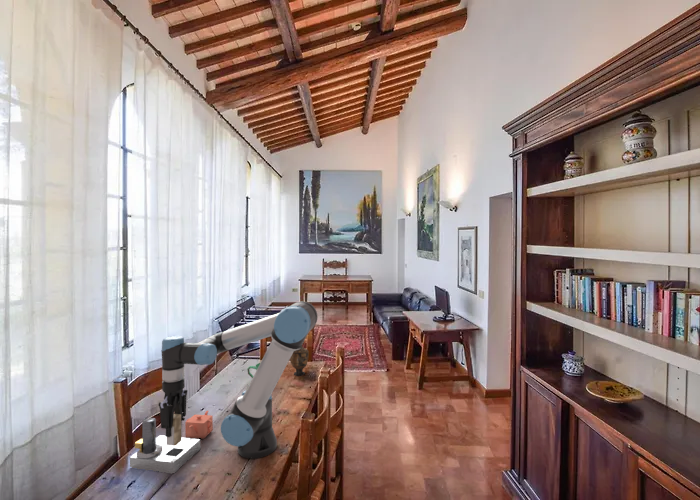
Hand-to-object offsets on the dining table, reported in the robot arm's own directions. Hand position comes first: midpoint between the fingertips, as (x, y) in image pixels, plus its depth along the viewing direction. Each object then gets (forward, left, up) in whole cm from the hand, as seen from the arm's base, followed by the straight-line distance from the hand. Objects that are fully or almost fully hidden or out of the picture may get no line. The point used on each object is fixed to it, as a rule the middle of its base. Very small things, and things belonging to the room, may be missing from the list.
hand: (174, 441), depth 139 cm
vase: (-14, -99, -8) cm, 100 cm away
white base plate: (+5, -2, -8) cm, 10 cm away
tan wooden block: (0, 0, -1) cm, 1 cm away
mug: (+4, -82, -8) cm, 83 cm away
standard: (+9, +2, -4) cm, 10 cm away
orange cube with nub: (+3, -20, -8) cm, 22 cm away
